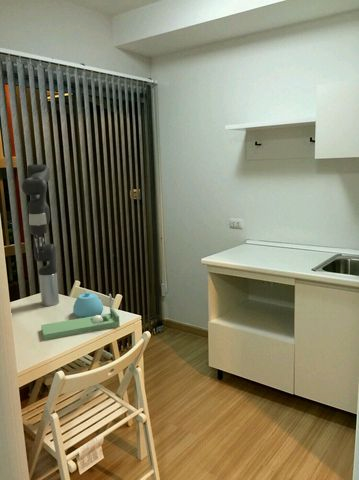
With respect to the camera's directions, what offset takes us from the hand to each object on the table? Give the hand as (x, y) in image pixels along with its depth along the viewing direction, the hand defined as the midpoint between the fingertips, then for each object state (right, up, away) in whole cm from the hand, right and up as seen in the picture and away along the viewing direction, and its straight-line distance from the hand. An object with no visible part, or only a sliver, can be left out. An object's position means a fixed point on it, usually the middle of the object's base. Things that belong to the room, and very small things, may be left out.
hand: (41, 259), depth 190 cm
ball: (+26, -29, +3) cm, 39 cm away
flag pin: (+32, -29, +5) cm, 43 cm away
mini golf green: (+18, -32, +1) cm, 37 cm away
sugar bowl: (+18, -29, +19) cm, 39 cm away
